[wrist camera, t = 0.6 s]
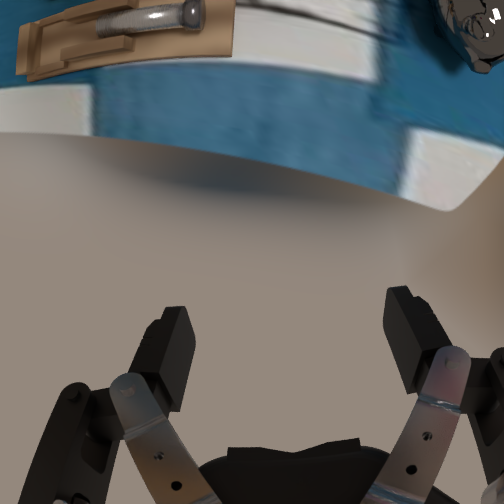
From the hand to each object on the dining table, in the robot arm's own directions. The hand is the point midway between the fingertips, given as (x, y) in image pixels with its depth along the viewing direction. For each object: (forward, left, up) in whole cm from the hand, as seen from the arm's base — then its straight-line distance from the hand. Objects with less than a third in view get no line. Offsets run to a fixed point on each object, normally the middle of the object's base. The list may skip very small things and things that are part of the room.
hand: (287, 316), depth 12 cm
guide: (-17, -20, -27) cm, 38 cm away
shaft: (-17, -14, -25) cm, 34 cm away
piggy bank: (-23, +22, -27) cm, 42 cm away
